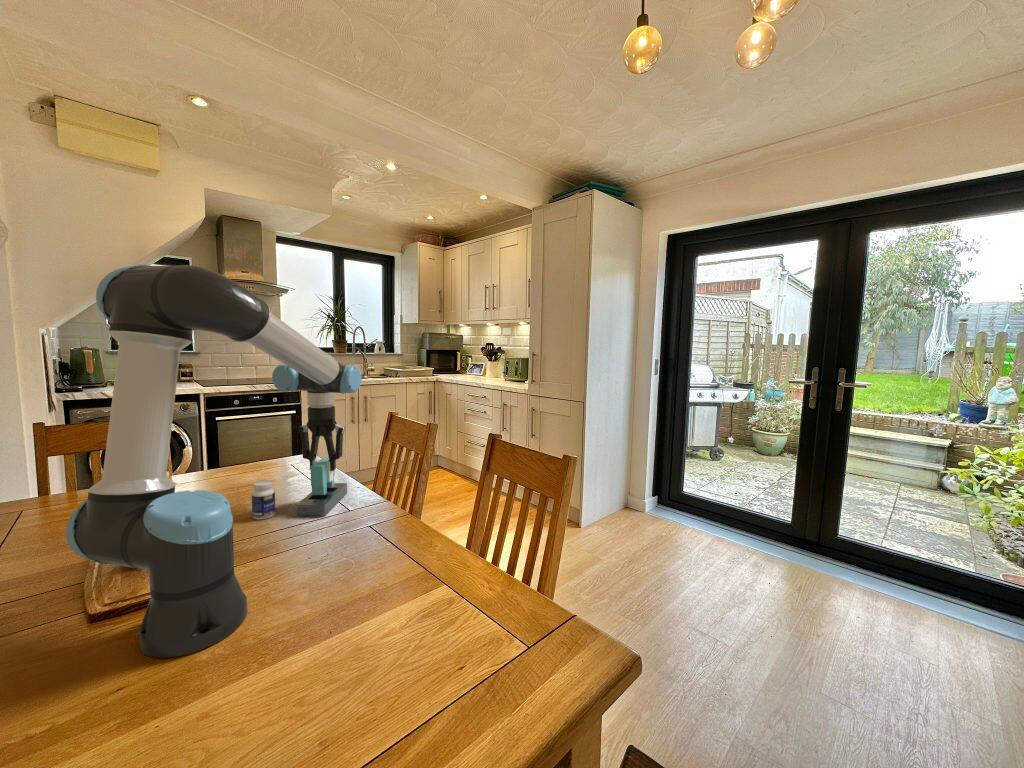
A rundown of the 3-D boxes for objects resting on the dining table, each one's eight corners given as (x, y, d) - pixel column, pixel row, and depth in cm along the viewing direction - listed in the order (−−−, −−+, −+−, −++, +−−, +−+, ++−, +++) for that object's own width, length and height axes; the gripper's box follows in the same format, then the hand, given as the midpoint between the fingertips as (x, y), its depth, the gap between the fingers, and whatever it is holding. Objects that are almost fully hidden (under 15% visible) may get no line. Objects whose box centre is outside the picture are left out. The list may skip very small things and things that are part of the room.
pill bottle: (267, 520, 114) (266, 486, 113) (247, 520, 114) (246, 485, 113) (279, 512, 120) (278, 479, 119) (260, 511, 120) (259, 478, 119)
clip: (323, 495, 121) (322, 466, 120) (311, 495, 121) (310, 466, 120) (335, 484, 130) (334, 457, 129) (323, 484, 130) (323, 457, 129)
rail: (324, 516, 117) (324, 505, 117) (296, 516, 117) (296, 504, 117) (347, 493, 135) (347, 483, 135) (322, 493, 135) (322, 482, 134)
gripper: (353, 404, 127) (354, 476, 129) (299, 403, 126) (301, 476, 129) (344, 408, 119) (346, 485, 122) (286, 407, 119) (289, 484, 121)
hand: (323, 480), depth 125 cm, fingers closed on clip, 3 cm apart
